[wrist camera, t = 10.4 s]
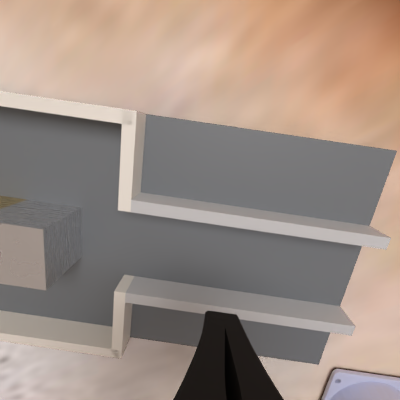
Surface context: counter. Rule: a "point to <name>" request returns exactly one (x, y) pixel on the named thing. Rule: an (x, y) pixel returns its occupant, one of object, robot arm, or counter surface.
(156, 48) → the counter surface
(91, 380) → the counter surface
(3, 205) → the mustard yellow cube
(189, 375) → the robot arm
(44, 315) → the channel board
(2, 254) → the light grey cube
